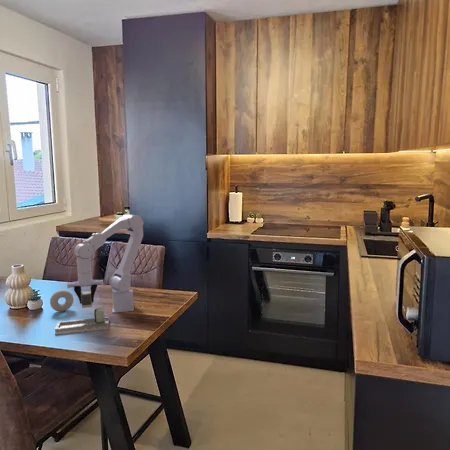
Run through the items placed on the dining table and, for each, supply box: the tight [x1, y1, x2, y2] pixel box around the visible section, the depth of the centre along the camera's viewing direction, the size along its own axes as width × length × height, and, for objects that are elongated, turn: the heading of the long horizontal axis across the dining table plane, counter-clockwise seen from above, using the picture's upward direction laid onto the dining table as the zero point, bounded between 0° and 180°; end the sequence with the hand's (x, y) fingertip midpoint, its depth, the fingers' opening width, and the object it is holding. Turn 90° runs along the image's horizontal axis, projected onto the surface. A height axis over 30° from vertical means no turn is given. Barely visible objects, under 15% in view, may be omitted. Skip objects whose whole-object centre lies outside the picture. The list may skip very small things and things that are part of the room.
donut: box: [49, 289, 74, 312], centre depth 181 cm, size 10×3×10 cm, turn 121°
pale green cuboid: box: [81, 291, 93, 309], centre depth 172 cm, size 4×4×6 cm
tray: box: [54, 306, 110, 335], centre depth 163 cm, size 20×9×7 cm, turn 104°
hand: (86, 302), depth 172 cm, fingers closed on pale green cuboid, 4 cm apart
